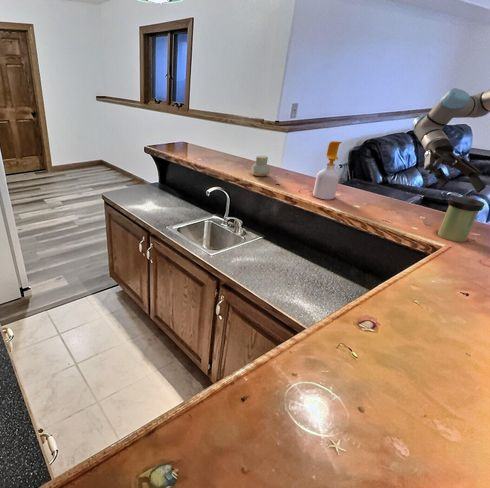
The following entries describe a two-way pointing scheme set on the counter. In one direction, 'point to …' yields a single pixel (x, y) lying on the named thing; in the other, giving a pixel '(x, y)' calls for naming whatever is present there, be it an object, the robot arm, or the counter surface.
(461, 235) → the jar
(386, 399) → the counter surface
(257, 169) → the air freshener
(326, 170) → the soap bottle
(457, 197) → the lid
